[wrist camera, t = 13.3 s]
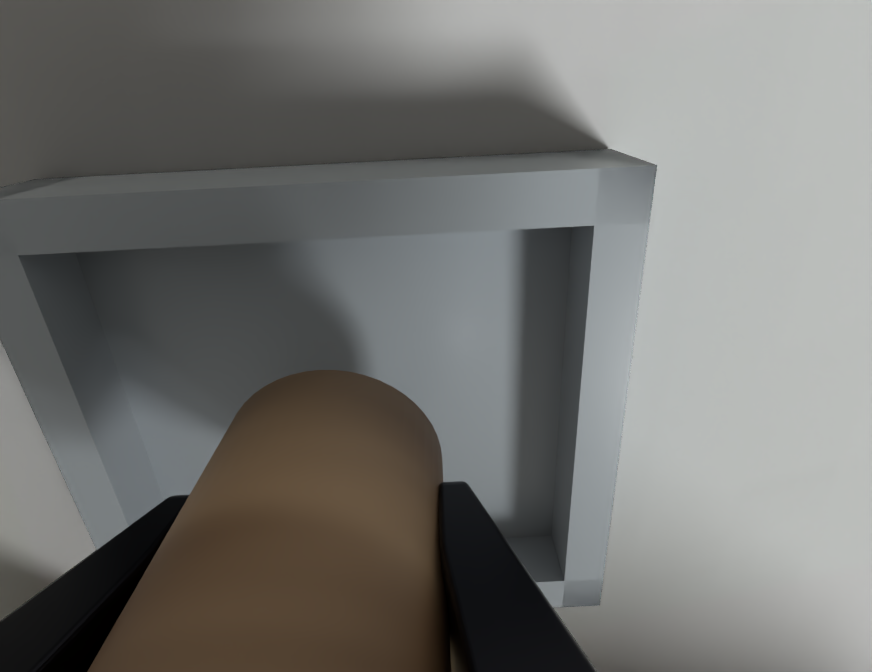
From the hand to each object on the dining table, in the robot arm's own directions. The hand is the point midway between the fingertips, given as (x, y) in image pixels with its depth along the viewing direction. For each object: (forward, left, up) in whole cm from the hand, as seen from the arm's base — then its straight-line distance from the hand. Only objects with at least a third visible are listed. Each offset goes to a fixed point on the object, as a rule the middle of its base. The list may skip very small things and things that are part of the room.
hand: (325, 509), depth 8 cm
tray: (0, 0, -4) cm, 4 cm away
